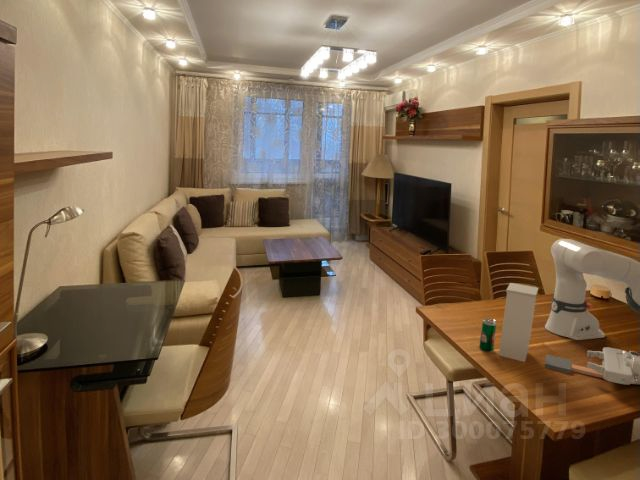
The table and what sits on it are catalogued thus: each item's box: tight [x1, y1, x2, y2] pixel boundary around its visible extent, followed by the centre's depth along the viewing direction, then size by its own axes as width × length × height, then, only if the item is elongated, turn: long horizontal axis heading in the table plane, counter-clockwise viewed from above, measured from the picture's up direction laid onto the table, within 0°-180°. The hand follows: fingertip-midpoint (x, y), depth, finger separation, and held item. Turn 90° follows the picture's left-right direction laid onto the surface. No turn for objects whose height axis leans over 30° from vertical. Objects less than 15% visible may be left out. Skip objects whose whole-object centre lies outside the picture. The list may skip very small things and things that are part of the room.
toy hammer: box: [544, 354, 604, 379], centre depth 149 cm, size 18×8×2 cm, turn 60°
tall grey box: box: [498, 282, 539, 363], centre depth 156 cm, size 10×10×26 cm
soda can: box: [478, 317, 497, 353], centre depth 161 cm, size 5×5×12 cm
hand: (587, 358), depth 146 cm, fingers open, 8 cm apart
